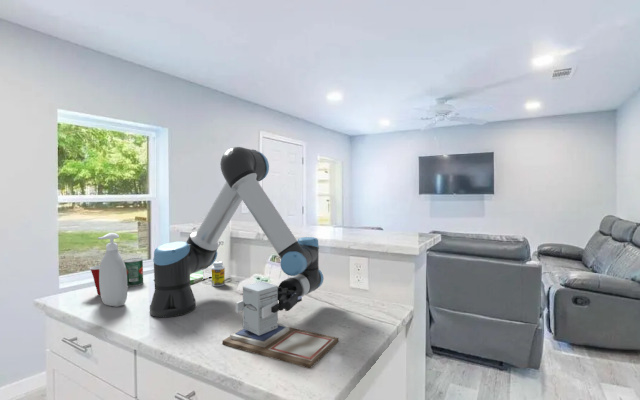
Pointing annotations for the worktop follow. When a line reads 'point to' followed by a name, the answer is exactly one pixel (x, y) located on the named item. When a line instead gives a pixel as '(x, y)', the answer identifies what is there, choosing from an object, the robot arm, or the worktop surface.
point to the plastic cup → (96, 277)
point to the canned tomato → (134, 271)
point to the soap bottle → (112, 274)
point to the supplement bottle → (218, 274)
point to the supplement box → (259, 307)
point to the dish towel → (196, 277)
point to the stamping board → (284, 344)
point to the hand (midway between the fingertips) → (249, 310)
